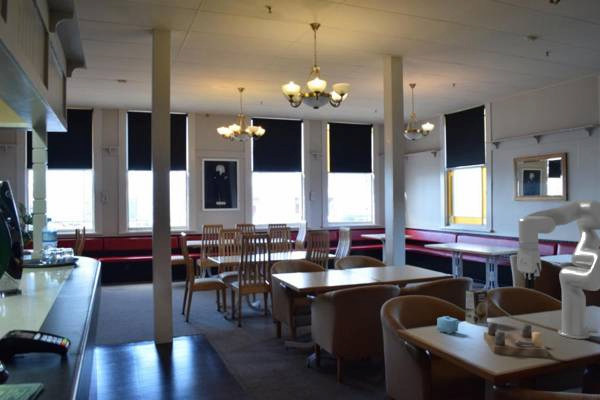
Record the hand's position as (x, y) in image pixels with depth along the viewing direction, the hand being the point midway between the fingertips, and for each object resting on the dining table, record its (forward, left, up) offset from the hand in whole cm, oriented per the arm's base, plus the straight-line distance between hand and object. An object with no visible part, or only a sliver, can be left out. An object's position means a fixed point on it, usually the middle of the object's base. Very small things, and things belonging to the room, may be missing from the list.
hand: (530, 287), depth 197 cm
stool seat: (+9, +8, -24) cm, 27 cm away
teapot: (+33, -9, -24) cm, 42 cm away
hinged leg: (+5, +15, -21) cm, 26 cm away
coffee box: (+17, -31, -24) cm, 43 cm away
